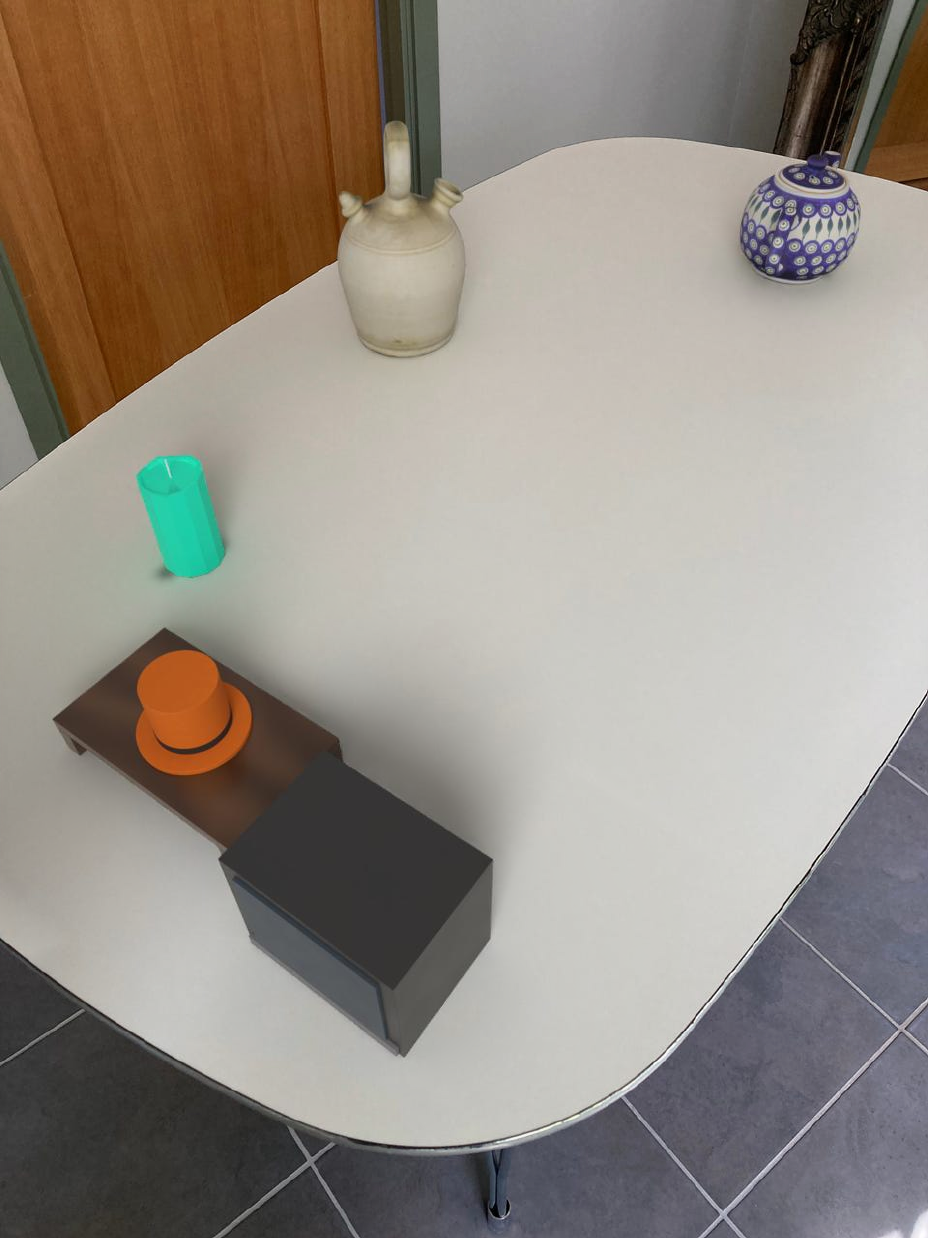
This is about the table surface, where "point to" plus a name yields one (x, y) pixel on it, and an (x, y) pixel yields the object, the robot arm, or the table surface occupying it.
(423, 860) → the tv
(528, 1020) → the table surface
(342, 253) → the jug
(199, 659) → the hat
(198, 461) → the candle
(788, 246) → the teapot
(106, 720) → the stand
